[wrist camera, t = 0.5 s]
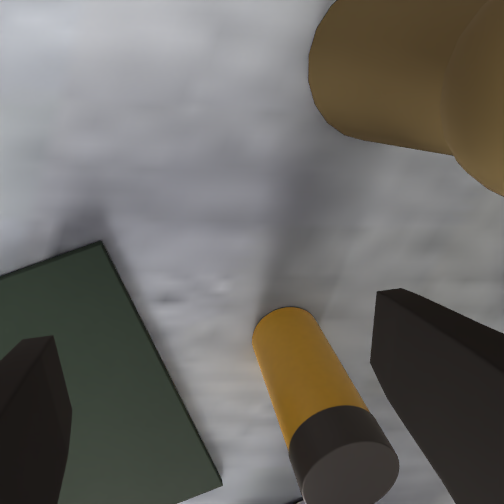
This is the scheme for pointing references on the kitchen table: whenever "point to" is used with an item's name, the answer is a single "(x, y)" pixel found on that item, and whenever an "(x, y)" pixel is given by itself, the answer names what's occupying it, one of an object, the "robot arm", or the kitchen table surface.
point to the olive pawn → (416, 77)
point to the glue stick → (321, 414)
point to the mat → (107, 384)
